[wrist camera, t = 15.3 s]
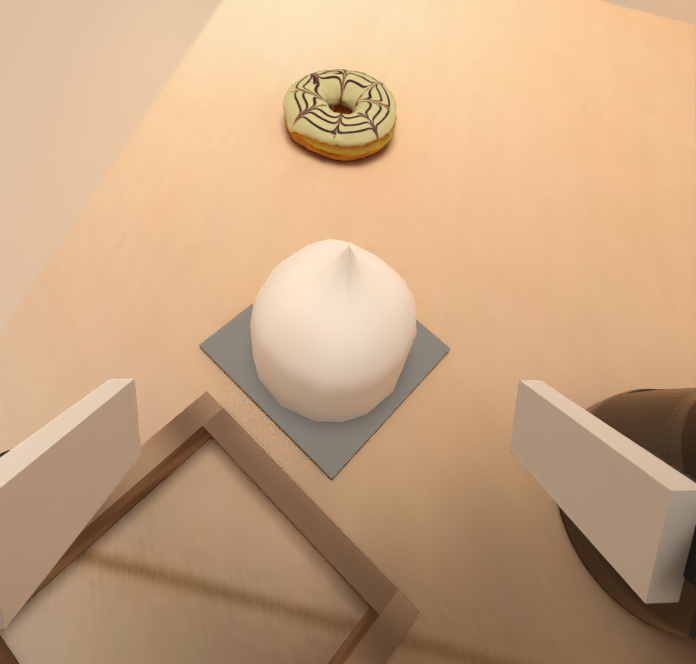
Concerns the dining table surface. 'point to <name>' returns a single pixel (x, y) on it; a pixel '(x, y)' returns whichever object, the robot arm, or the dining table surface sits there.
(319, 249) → the teardrop
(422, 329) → the grey mat
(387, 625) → the walnut collar
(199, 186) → the dining table surface
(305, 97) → the decorated donut
